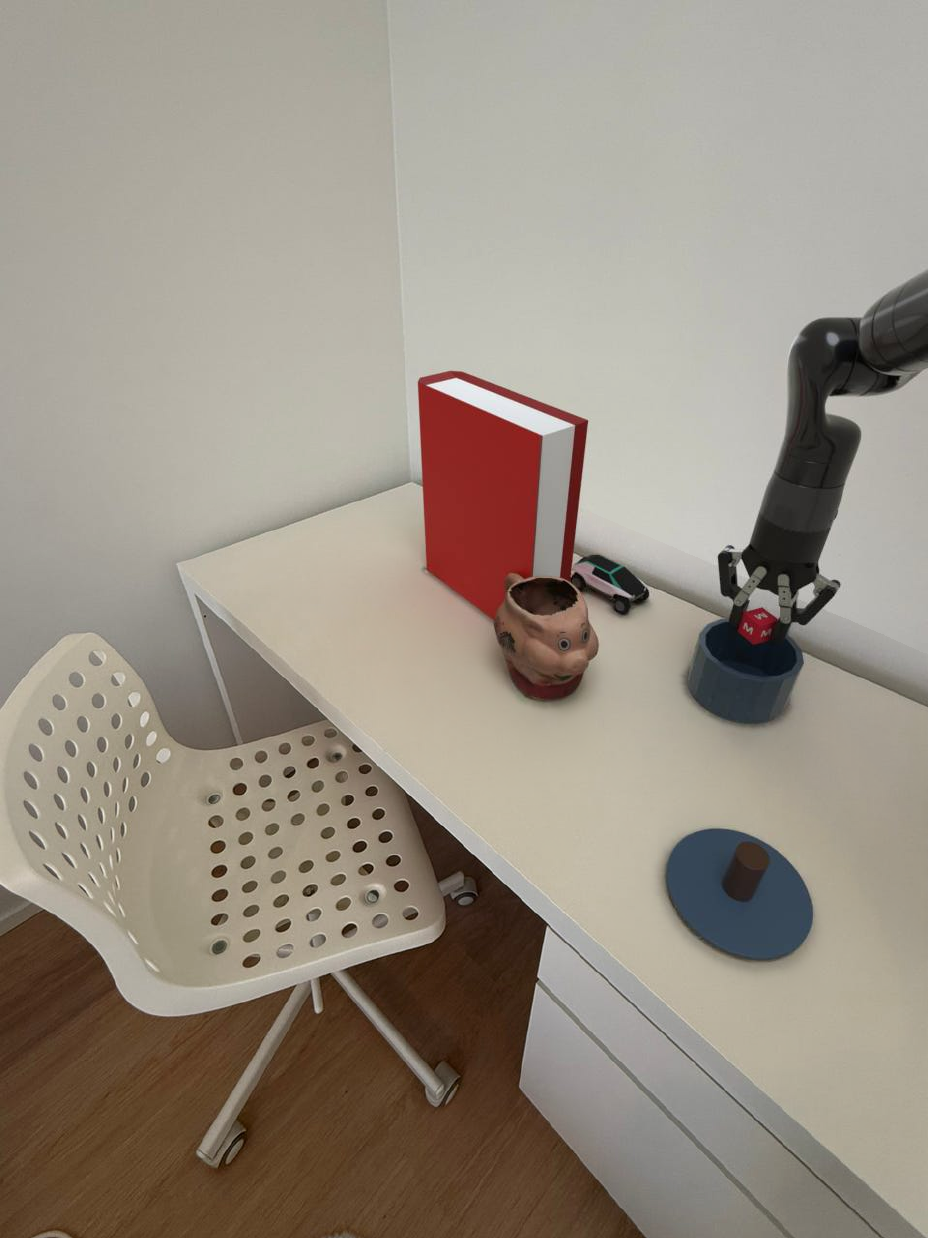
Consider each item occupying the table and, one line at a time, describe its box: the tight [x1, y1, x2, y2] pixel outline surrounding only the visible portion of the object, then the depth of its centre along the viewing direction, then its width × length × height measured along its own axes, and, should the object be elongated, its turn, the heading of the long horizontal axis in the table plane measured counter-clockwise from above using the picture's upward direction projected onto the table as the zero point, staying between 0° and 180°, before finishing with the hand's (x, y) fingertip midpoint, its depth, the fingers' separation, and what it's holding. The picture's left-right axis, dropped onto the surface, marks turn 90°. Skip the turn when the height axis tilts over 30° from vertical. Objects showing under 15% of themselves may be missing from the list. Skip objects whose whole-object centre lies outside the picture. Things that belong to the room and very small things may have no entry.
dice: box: [738, 606, 779, 645], centre depth 81 cm, size 3×3×3 cm
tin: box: [687, 617, 805, 725], centre depth 85 cm, size 13×13×8 cm
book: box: [417, 370, 589, 621], centre depth 97 cm, size 27×8×32 cm, turn 37°
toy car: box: [570, 554, 650, 615], centre depth 104 cm, size 6×12×5 cm, turn 42°
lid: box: [665, 827, 814, 962], centre depth 62 cm, size 14×14×7 cm
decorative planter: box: [493, 573, 600, 701], centre depth 87 cm, size 20×12×14 cm, turn 30°
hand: (755, 633), depth 82 cm, fingers closed on dice, 4 cm apart
